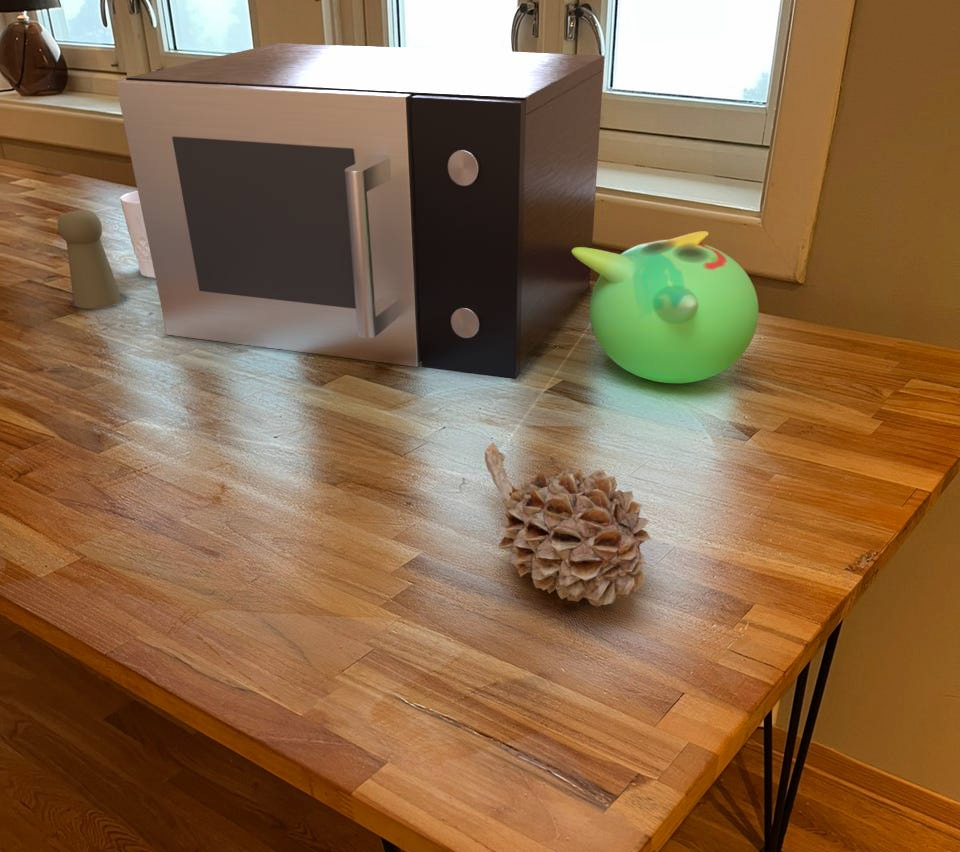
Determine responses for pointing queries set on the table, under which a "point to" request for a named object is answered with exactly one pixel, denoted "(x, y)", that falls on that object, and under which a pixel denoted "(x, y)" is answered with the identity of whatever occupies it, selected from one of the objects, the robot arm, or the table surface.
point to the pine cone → (572, 532)
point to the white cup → (137, 232)
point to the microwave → (471, 180)
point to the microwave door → (280, 215)
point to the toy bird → (671, 308)
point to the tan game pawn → (88, 260)
